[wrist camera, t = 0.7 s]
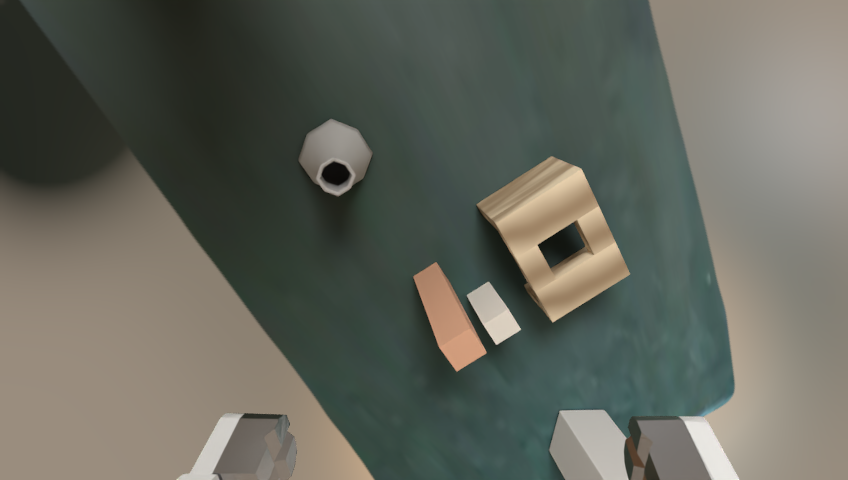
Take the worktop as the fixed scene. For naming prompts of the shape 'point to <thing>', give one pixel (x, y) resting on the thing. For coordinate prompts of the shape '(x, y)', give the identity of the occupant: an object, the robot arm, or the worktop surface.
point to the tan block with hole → (543, 217)
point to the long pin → (448, 318)
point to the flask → (335, 156)
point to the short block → (493, 313)
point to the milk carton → (588, 446)
